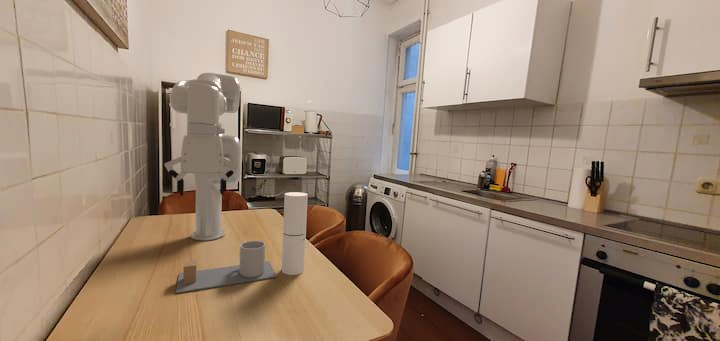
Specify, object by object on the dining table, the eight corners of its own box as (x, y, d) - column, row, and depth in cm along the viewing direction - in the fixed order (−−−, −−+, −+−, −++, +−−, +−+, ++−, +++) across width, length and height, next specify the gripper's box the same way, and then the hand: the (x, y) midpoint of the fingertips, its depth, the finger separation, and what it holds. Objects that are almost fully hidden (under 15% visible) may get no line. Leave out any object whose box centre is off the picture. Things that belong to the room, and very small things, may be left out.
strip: (179, 274, 86) (179, 256, 86) (269, 262, 98) (269, 246, 98) (175, 293, 76) (175, 273, 75) (276, 277, 88) (277, 260, 87)
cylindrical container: (277, 269, 94) (280, 193, 91) (295, 263, 99) (298, 191, 97) (289, 277, 89) (293, 197, 87) (308, 270, 94) (312, 194, 92)
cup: (248, 280, 84) (249, 250, 83) (229, 270, 90) (230, 242, 89) (269, 272, 90) (270, 244, 89) (250, 263, 96) (251, 237, 95)
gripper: (236, 134, 85) (235, 191, 86) (166, 129, 77) (165, 193, 78) (239, 133, 79) (238, 195, 80) (163, 128, 70) (162, 197, 72)
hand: (202, 194), depth 79 cm, fingers open, 9 cm apart
